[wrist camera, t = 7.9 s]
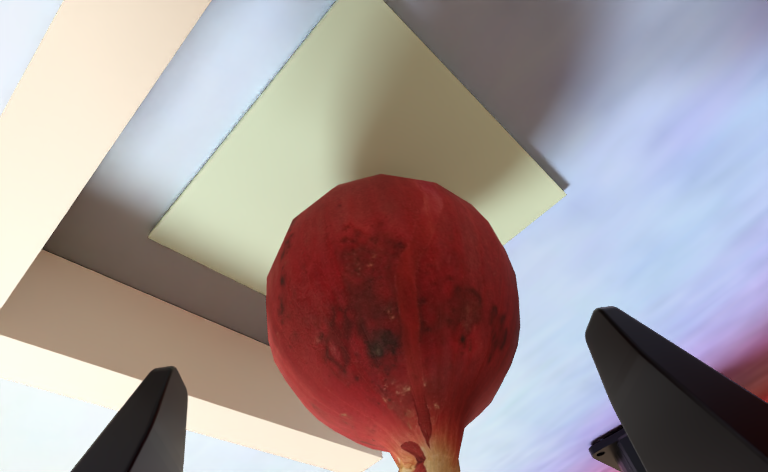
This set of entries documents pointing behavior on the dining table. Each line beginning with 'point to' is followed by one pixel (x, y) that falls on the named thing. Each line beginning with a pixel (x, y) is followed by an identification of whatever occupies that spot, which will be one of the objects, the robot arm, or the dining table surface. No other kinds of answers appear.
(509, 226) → the arena
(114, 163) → the dining table surface
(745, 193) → the dining table surface
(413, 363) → the onion
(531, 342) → the dining table surface
